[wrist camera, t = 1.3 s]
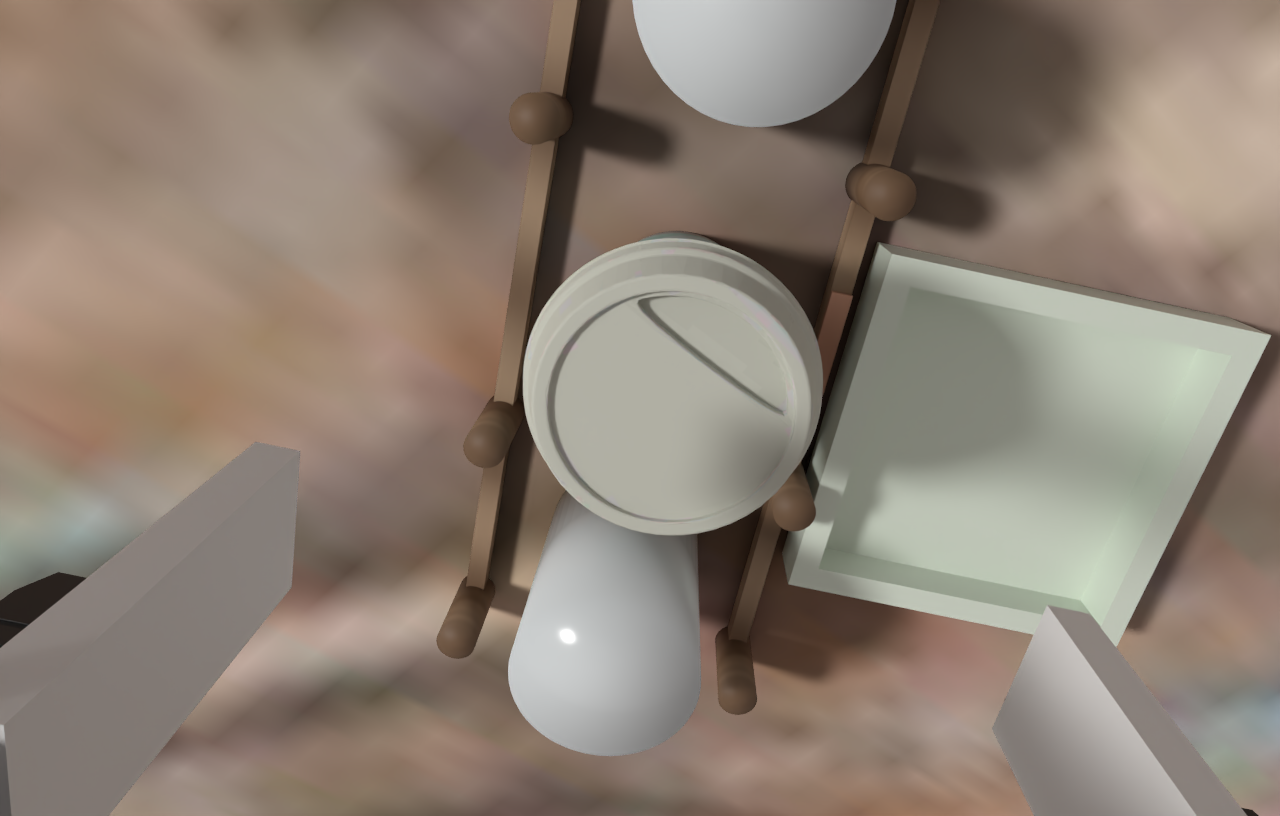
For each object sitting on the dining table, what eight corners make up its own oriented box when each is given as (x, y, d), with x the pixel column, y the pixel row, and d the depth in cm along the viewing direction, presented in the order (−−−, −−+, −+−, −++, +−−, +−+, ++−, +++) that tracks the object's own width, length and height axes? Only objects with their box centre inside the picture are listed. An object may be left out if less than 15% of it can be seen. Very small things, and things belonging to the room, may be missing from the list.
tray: (877, 241, 32) (891, 253, 30) (1229, 317, 32) (1271, 335, 30) (781, 553, 37) (788, 584, 35) (1087, 616, 37) (1114, 650, 35)
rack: (576, -201, 28) (559, -246, 24) (978, -109, 28) (1023, -140, 24) (458, 599, 39) (434, 654, 35) (745, 657, 39) (751, 717, 35)
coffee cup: (810, 366, 34) (870, 503, 23) (613, 430, 35) (580, 588, 24) (745, 160, 31) (779, 201, 20) (535, 238, 33) (457, 317, 22)
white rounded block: (669, -104, 28) (662, -198, 19) (854, -63, 29) (936, -135, 19) (632, 94, 31) (609, 97, 21) (803, 131, 31) (854, 150, 22)
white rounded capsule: (565, 451, 36) (523, 579, 27) (711, 481, 36) (721, 619, 27) (542, 577, 38) (495, 735, 29) (679, 605, 38) (677, 771, 29)
